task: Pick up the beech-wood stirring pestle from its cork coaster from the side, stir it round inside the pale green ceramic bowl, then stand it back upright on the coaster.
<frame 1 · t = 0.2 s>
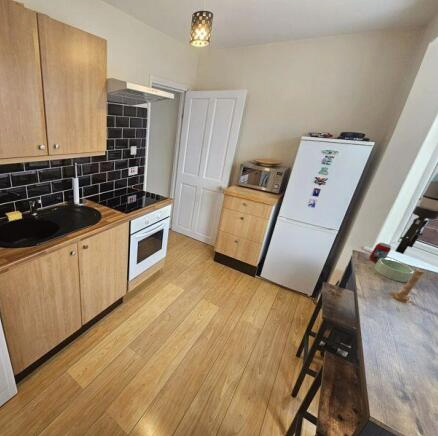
hand: (403, 249, 109), 25 cm above the table, tool pointing down, fingers open, 13 cm apart
bowl: (390, 274, 135), on the table
coaster: (400, 298, 115), on the table
stirring pestle: (410, 284, 111), on the coaster
beverage can: (375, 260, 148), on the table
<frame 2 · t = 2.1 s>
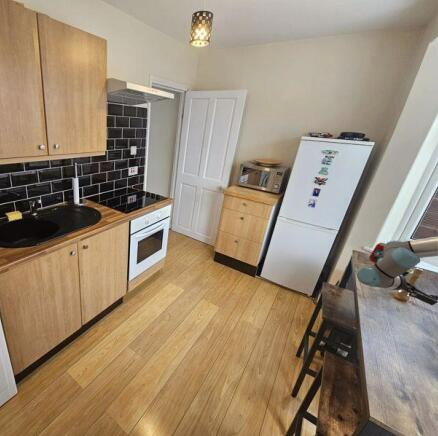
hand: (421, 285, 105), 13 cm above the table, tool horizontal, fingers open, 13 cm apart
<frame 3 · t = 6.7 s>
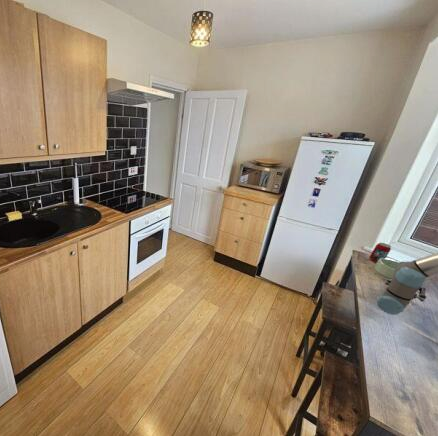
hand: (414, 280, 114), 10 cm above the table, tool horizontal, fingers closed on stirring pestle, 2 cm apart
stirring pestle: (410, 284, 111), on the coaster, touching gripper
everything else where it was.
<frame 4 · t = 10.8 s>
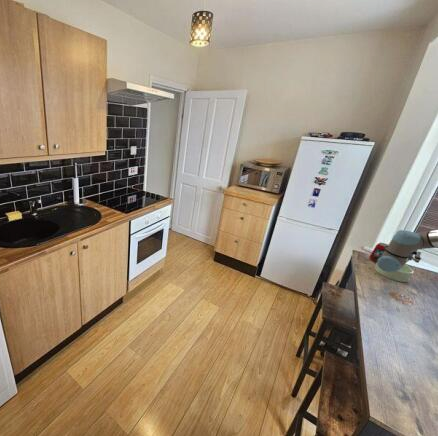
hand: (410, 246, 125), 20 cm above the table, tool horizontal, fingers closed on stirring pestle, 2 cm apart
stirring pestle: (406, 250, 122), point 19 cm above the table, touching gripper
everything else where it was.
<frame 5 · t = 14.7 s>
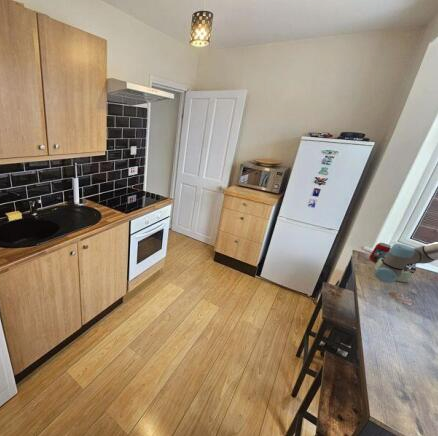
hand: (406, 257, 132), 11 cm above the table, tool horizontal, fingers closed on stirring pestle, 2 cm apart
stirring pestle: (403, 261, 130), point 10 cm above the table, touching gripper
everything else where it was.
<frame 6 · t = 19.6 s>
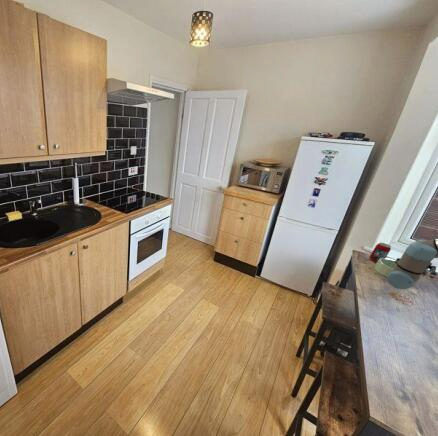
hand: (424, 259, 113), 20 cm above the table, tool horizontal, fingers closed on stirring pestle, 2 cm apart
stirring pestle: (420, 263, 111), point 19 cm above the table, touching gripper
everything else where it was.
when the fingers open (10 cm above the table, at t = 23.1 s): stirring pestle stays where it is, resting on coaster.
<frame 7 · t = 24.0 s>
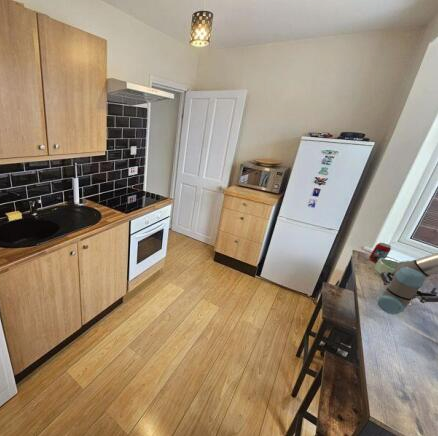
hand: (413, 281, 113), 10 cm above the table, tool horizontal, fingers open, 13 cm apart
stirring pestle: (410, 284, 112), on the coaster
everything else where it was.
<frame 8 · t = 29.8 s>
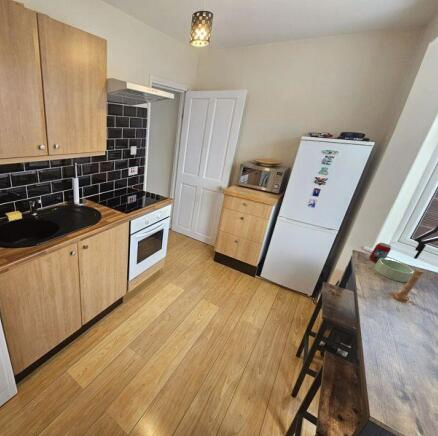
nothing on the table moved.
at the end: stirring pestle 0.1 cm off-centre on the coaster, point 9.0 cm above the coaster's base; stirring pestle tilted 0°; stirring pestle touching coaster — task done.
